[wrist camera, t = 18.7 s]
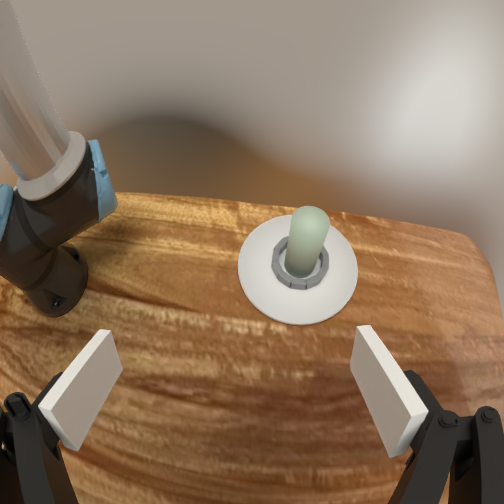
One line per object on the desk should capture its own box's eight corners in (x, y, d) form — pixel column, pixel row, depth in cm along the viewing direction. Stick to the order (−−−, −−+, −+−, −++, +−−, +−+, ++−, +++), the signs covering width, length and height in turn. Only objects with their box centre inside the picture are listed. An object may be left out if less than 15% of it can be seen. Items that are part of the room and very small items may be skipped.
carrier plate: (228, 316, 43) (226, 310, 40) (248, 212, 53) (247, 201, 50) (355, 330, 41) (361, 325, 38) (353, 225, 51) (358, 215, 48)
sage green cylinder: (282, 276, 45) (290, 235, 34) (285, 249, 47) (292, 203, 37) (313, 280, 44) (330, 240, 34) (315, 252, 47) (329, 208, 36)
